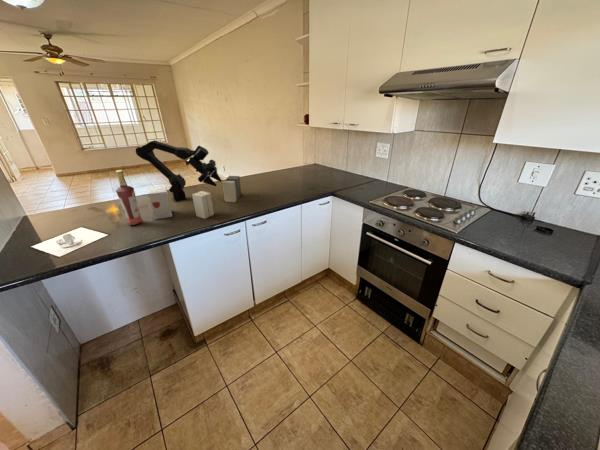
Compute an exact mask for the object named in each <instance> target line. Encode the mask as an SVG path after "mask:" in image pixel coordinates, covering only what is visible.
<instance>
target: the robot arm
mask: <svg viewBox="0 0 600 450" xmlns="http://www.w3.org/2000/svg"><path fill="white" fill-rule="evenodd" d="M155 150H159V151H162V152H165V153H169V154H171V155H173V156H175V157H177V158H179V159H180V160H185V166H189V165H190V166H191V167H192V168H194V169H195V172H197V173H199V174H200V175H199V176H198V177H197V181H198V182H199V183H202V184H207V185H209V186H213V187H217V183H216V181H218V182H223V181H222V180H223V179H221V177H220V175H219V174H218V167H217V163H216V160H213V159H209V160H208V162H207V163H206V162H203V161H204V160H205V159H206V157H207V156H208V155H209V153H210V152H209V151H208V149H207V148H205V147H203V146H201V145H199V144H198V146H197V147H196V148H195V149H194V150H191V149H190V148H188V147H181V146H174V145H171V144H167V143H164V142H162V141H158V140H155V139H154V140H151V141H149V142H147V143H146V144H144V145H142V146H137V147H136V148H135V154H136V156H138V157H139V158H141V159H142V160H144V161H147V162H149V163H150V164H151V165H152V166H153V168H155V169H156V170H157V171H159V172H160V174H162V175H163V176H164V177H165V178H166V179H167V180H168V182H169V184H170V185H171V186H169V188H168V190H169V192H170V193H172V194H171V195H172V200H173V201H174V202H181V201H186V200H187V198H186V192H185V191H184V188H185V186H186V185H187V183H186V180H185V177H183V176H182V175H181V173H178V174H175V173H174V172H173V171H172V170H171V169H170V168H168V166H166V165H165V164H164V163H163V162H162V161H161V160H160V159H159V158H158V157H156V154H155V153H154V151H155ZM187 159H188V160H187ZM213 179H214V180H216V181H214V180H213Z"/></svg>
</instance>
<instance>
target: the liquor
mask: <svg viewBox="0 0 600 450" xmlns="http://www.w3.org/2000/svg"><path fill="white" fill-rule="evenodd" d="M115 174H116V176H117V178H118V183H119V187H117V188H116V190H115V193H116V195H117V198H118V200H119V202H120V205H121V207H122V209H123V212H124V215H125V217H126V219H127V224H128V225H130V226H139V225H141V223H142V222H143V218H142V215H141V212H140V208H139V205H138V200H137V196H136V193H135V189H134V187H133V186H131V185H128V183H127V181H126V178H125V176H124V171H123V169H117V170H115Z"/></svg>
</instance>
